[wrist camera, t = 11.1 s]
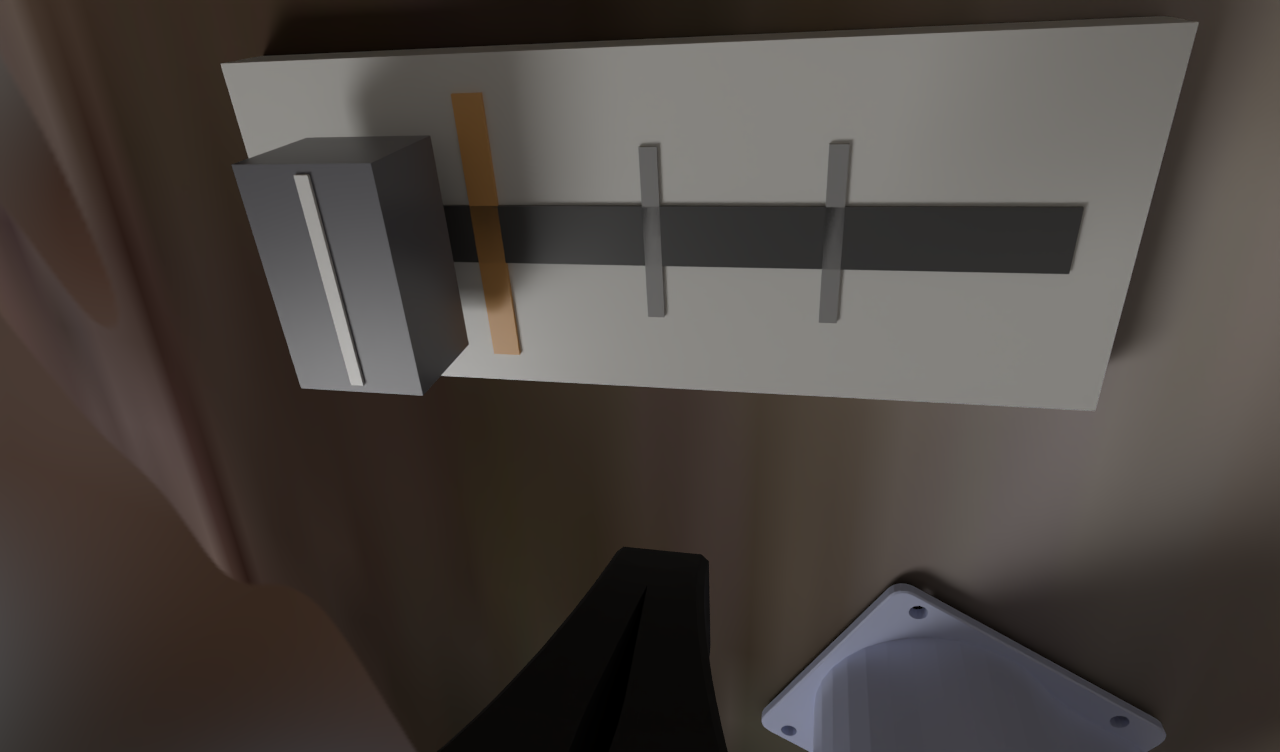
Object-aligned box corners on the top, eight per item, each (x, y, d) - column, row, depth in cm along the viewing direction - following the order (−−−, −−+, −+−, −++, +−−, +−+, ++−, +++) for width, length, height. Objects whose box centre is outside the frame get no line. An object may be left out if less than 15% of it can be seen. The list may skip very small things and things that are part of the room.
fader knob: (447, 127, 17) (369, 163, 14) (483, 329, 19) (421, 397, 16) (328, 129, 18) (229, 165, 15) (377, 324, 20) (299, 389, 17)
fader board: (1166, 15, 15) (1201, 22, 13) (1076, 379, 18) (1096, 413, 17) (261, 55, 19) (217, 64, 17) (340, 345, 23) (309, 370, 21)
